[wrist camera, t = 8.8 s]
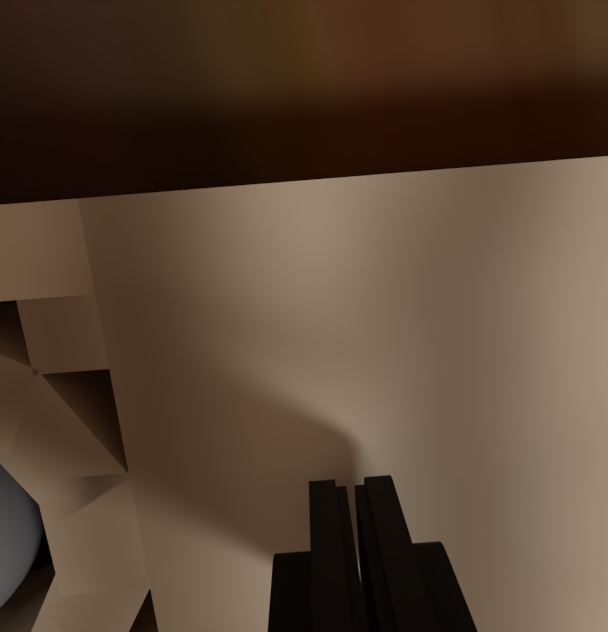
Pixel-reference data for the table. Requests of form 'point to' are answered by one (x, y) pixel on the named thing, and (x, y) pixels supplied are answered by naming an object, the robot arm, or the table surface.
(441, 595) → the robot arm
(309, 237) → the beige flat board
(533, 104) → the table surface
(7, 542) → the ball
